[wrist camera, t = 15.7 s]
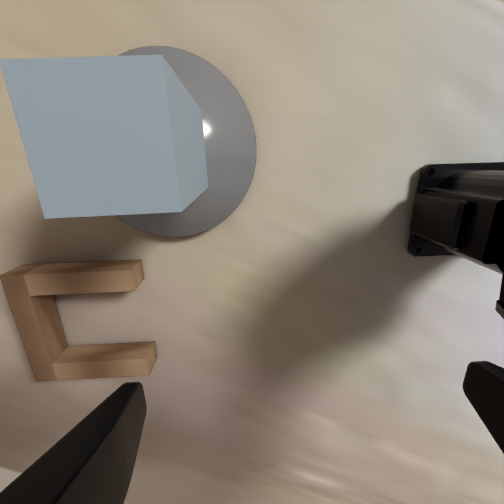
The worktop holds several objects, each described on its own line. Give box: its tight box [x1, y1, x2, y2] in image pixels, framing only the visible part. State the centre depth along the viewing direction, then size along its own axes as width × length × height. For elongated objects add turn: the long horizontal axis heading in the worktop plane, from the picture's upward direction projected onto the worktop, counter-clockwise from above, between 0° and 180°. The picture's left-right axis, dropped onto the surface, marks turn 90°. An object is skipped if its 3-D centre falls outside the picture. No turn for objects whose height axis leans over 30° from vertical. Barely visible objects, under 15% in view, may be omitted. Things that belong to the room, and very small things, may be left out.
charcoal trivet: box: [116, 46, 256, 237], centre depth 17 cm, size 11×11×1 cm
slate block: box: [0, 55, 208, 219], centre depth 13 cm, size 4×4×9 cm
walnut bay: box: [0, 260, 157, 382], centre depth 20 cm, size 8×8×2 cm
